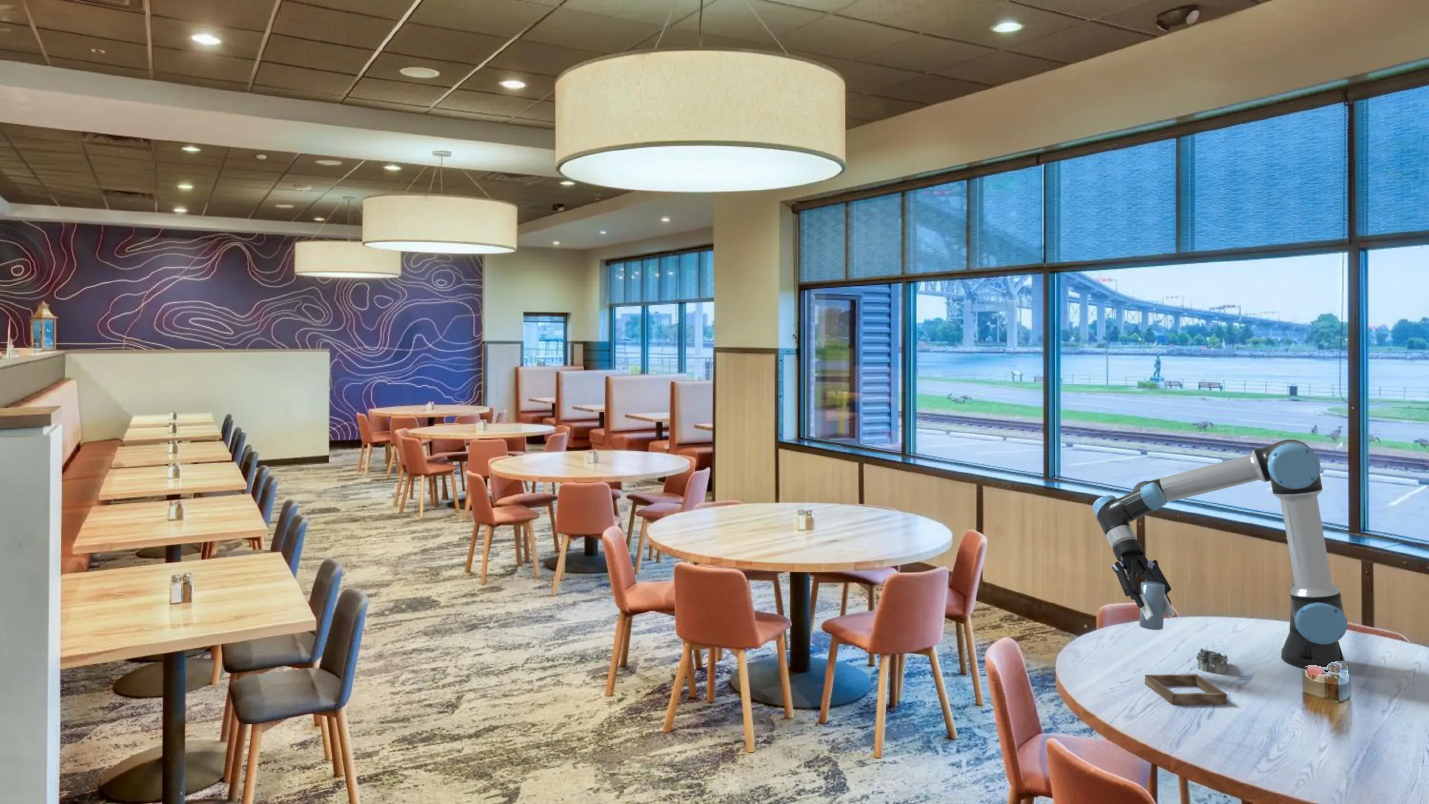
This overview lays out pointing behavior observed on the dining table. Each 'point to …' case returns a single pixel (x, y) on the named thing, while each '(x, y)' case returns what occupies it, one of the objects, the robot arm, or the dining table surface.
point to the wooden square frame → (1210, 697)
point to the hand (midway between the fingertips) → (1160, 616)
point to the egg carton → (1212, 661)
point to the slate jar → (1153, 605)
